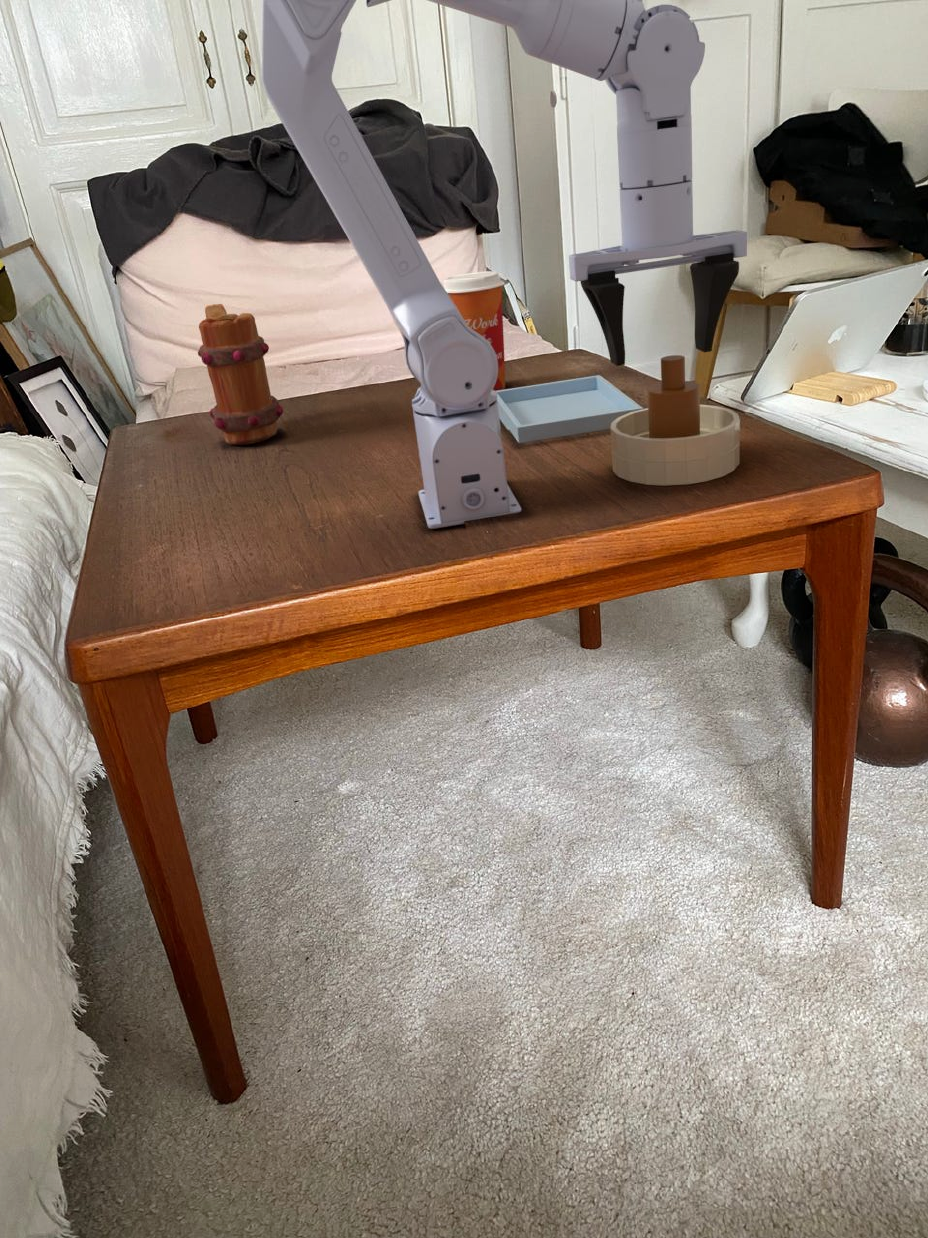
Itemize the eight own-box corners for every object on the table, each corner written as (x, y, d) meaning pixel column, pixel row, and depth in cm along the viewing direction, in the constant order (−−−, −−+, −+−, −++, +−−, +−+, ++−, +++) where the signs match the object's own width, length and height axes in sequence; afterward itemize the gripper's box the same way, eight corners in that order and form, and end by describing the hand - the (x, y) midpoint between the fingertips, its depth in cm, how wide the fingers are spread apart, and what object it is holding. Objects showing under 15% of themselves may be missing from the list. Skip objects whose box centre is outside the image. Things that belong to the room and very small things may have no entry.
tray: (644, 427, 98) (643, 407, 97) (519, 447, 97) (517, 427, 97) (600, 392, 114) (599, 374, 113) (492, 408, 113) (490, 391, 112)
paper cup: (447, 399, 120) (432, 283, 114) (462, 384, 126) (448, 273, 120) (508, 395, 118) (496, 277, 112) (519, 380, 124) (509, 267, 118)
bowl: (759, 478, 81) (760, 426, 79) (633, 498, 80) (631, 447, 78) (711, 444, 91) (711, 397, 89) (599, 462, 90) (596, 415, 88)
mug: (294, 440, 111) (266, 307, 104) (224, 455, 108) (192, 320, 102) (270, 416, 123) (244, 296, 116) (207, 429, 121) (177, 307, 114)
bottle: (707, 467, 83) (707, 358, 79) (659, 475, 83) (655, 366, 79) (690, 454, 87) (688, 349, 83) (643, 461, 87) (640, 356, 83)
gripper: (723, 171, 80) (724, 336, 86) (555, 195, 79) (567, 360, 85) (758, 172, 74) (756, 349, 80) (576, 198, 73) (587, 376, 79)
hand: (660, 356), depth 82 cm, fingers open, 7 cm apart
